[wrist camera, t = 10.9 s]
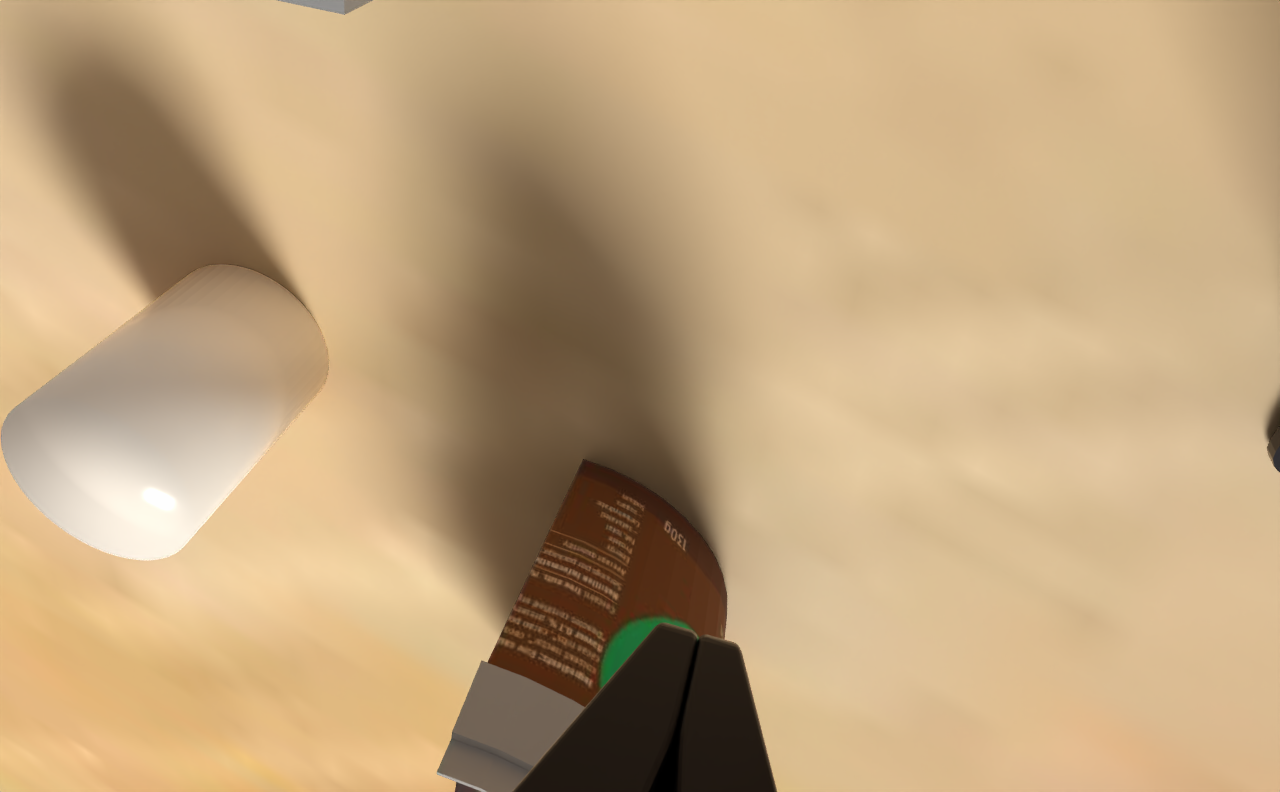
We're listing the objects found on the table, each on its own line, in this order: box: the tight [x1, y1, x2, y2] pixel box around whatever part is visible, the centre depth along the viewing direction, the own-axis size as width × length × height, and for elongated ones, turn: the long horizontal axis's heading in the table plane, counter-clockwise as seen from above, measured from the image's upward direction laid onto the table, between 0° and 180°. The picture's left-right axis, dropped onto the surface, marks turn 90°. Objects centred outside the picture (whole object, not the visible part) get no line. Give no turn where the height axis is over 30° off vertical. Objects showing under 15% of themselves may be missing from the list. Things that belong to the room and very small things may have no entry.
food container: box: [437, 459, 727, 792], centre depth 24 cm, size 12×6×10 cm, turn 169°
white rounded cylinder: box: [1, 264, 329, 560], centre depth 23 cm, size 4×4×6 cm
